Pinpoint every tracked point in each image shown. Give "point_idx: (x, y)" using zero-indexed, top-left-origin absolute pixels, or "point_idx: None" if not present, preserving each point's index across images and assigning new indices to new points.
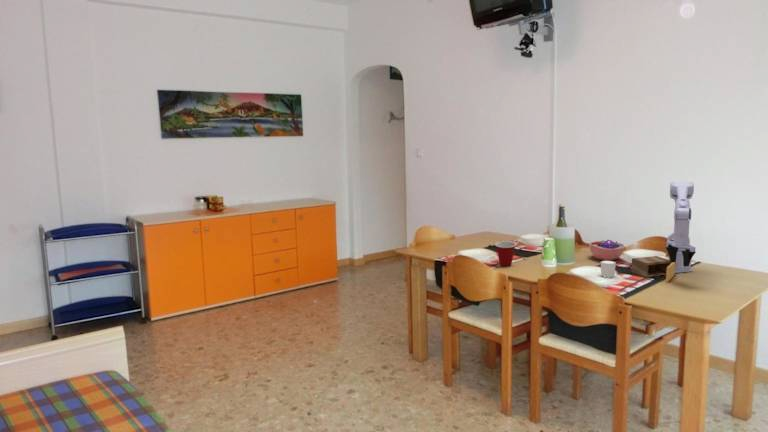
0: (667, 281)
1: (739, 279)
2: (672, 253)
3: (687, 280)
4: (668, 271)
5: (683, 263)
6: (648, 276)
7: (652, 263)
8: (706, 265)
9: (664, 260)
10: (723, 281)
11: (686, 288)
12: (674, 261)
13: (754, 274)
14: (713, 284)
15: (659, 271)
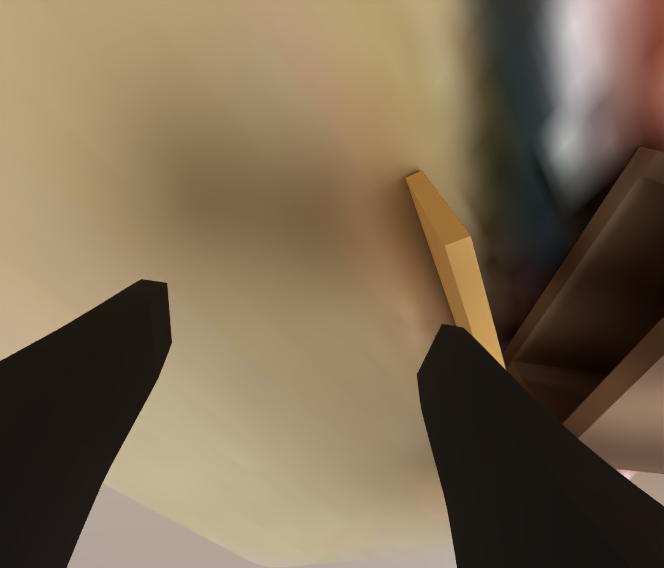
0: (409, 178)
1: (232, 498)
2: (509, 497)
3: (349, 338)
4: (431, 222)
5: (137, 304)
6: (624, 179)
7: None
8: (447, 541)
9: (610, 433)
10: (235, 445)
11: (186, 150)
12: (424, 372)
13: (263, 554)
14: (207, 380)
15: (583, 343)
